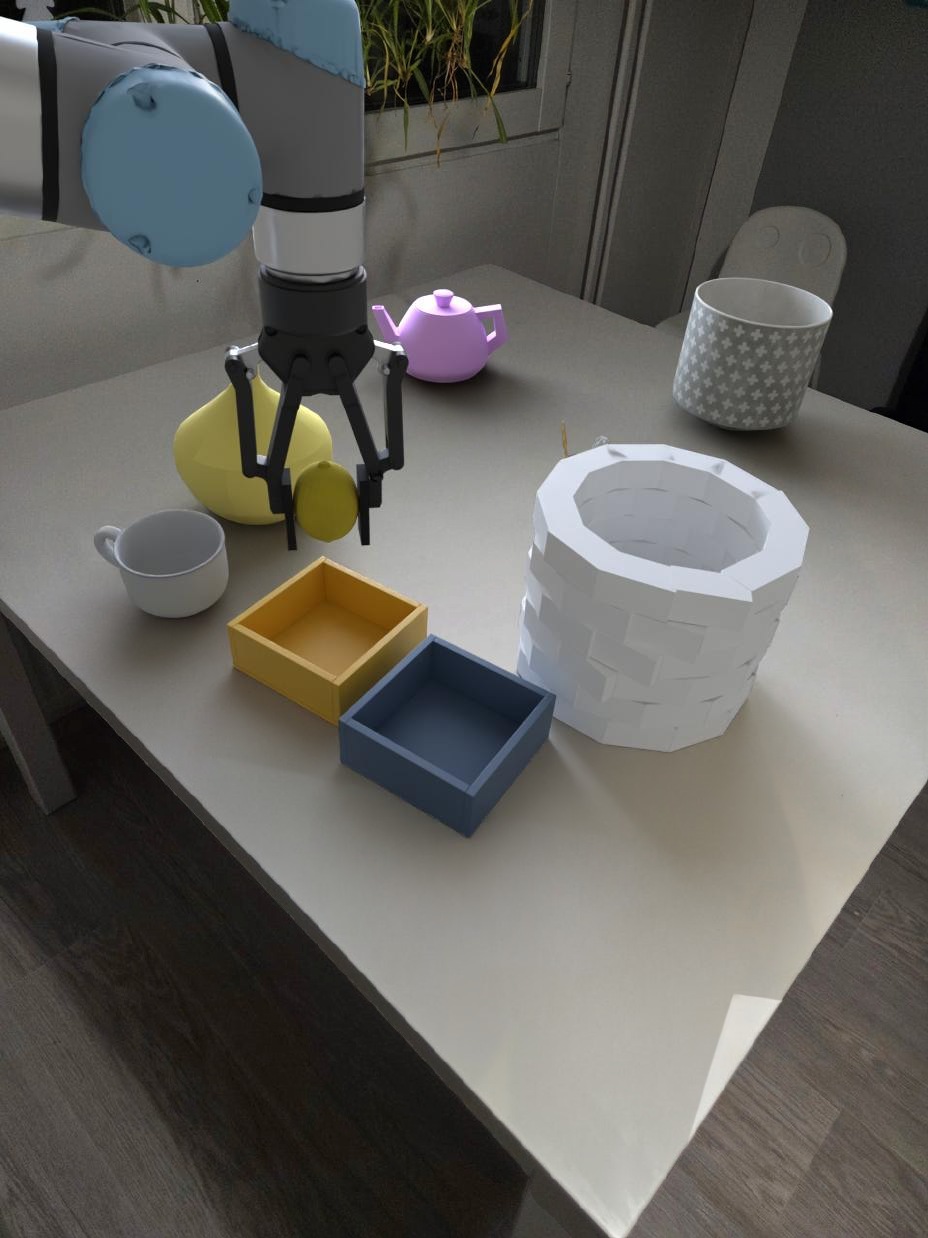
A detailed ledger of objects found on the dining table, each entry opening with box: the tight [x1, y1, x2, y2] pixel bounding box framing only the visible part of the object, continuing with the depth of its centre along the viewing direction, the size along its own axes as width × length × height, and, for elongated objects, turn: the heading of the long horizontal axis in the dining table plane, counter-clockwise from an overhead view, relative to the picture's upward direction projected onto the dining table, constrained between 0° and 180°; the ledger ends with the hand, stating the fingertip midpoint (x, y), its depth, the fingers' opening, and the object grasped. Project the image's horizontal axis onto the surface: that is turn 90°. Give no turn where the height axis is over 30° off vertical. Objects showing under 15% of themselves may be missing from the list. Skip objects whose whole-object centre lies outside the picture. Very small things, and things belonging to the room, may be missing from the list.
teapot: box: [372, 289, 510, 384], centre depth 132 cm, size 22×16×12 cm
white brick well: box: [516, 443, 811, 753], centre depth 78 cm, size 25×24×19 cm
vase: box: [172, 364, 334, 526], centre depth 96 cm, size 18×18×19 cm
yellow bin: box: [226, 555, 429, 728], centre depth 81 cm, size 14×14×6 cm
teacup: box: [93, 508, 230, 619], centre depth 86 cm, size 14×11×8 cm
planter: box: [671, 277, 834, 432], centre depth 122 cm, size 19×19×18 cm
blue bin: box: [337, 633, 556, 840], centre depth 73 cm, size 14×14×6 cm
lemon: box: [293, 460, 359, 544], centre depth 70 cm, size 6×6×8 cm
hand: (328, 538), depth 72 cm, fingers closed on lemon, 5 cm apart
